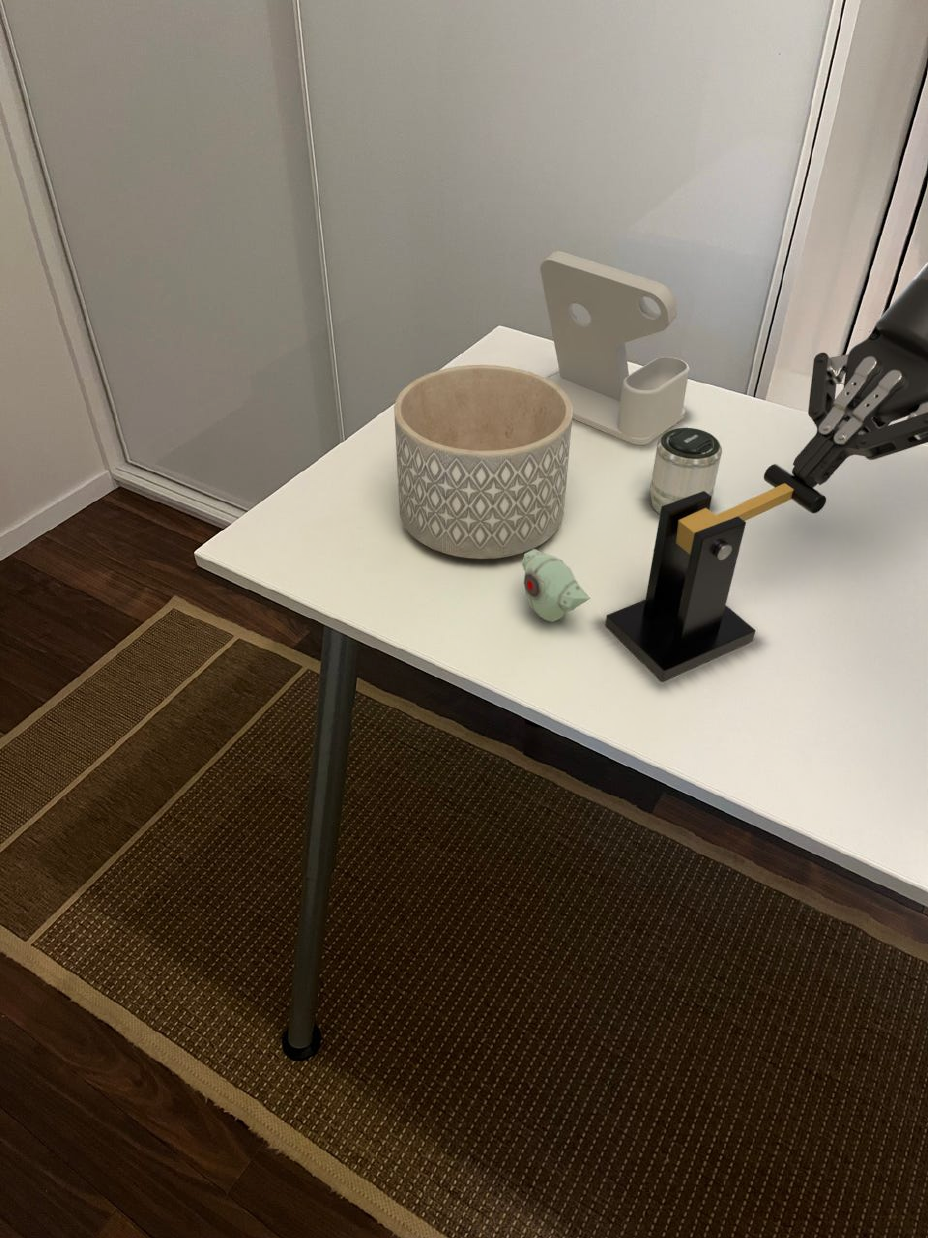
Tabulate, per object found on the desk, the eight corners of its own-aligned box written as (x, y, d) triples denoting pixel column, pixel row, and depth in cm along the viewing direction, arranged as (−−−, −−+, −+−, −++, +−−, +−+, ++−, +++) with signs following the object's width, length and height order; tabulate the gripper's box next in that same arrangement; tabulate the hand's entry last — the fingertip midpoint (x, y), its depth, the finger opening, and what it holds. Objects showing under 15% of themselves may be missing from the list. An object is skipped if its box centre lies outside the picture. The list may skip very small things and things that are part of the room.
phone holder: (691, 414, 110) (720, 262, 98) (644, 449, 105) (667, 291, 92) (572, 368, 119) (584, 222, 107) (522, 398, 113) (529, 247, 101)
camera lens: (721, 505, 97) (736, 438, 91) (686, 530, 93) (699, 463, 88) (671, 480, 100) (683, 415, 95) (635, 504, 97) (645, 438, 91)
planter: (496, 457, 103) (500, 349, 95) (596, 529, 94) (610, 416, 85) (369, 507, 96) (360, 395, 88) (462, 592, 86) (463, 475, 78)
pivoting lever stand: (692, 589, 87) (718, 472, 78) (753, 641, 82) (787, 521, 73) (604, 625, 83) (621, 506, 74) (662, 682, 78) (686, 561, 69)
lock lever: (776, 480, 81) (780, 457, 79) (823, 512, 77) (829, 489, 76) (662, 532, 77) (664, 509, 75) (707, 569, 74) (710, 545, 72)
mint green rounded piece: (591, 636, 82) (599, 576, 77) (553, 654, 80) (559, 593, 76) (537, 586, 87) (542, 527, 82) (501, 602, 85) (503, 542, 81)
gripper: (874, 250, 75) (728, 425, 79) (1017, 313, 67) (846, 504, 71) (900, 299, 81) (763, 460, 85) (1036, 363, 72) (876, 538, 76)
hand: (801, 480), depth 78 cm, fingers closed
